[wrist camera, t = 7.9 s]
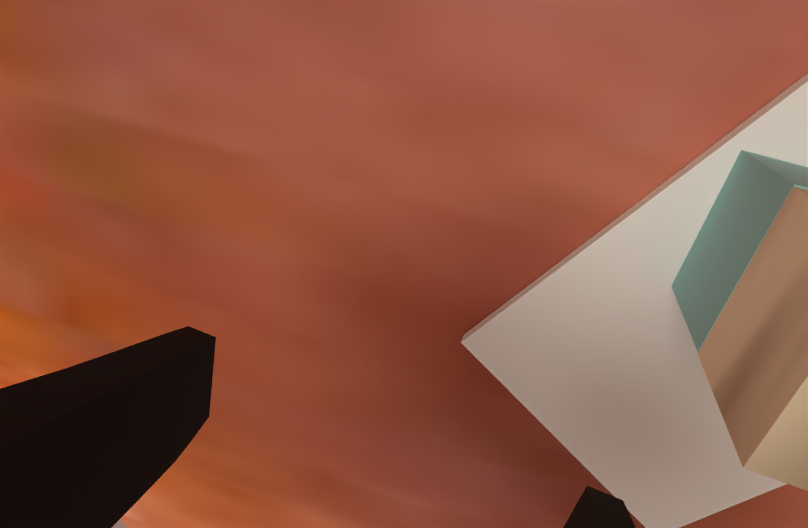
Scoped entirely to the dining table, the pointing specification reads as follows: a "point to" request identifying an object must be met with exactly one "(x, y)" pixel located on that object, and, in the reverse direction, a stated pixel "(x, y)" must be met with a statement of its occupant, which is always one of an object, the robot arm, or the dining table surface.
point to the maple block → (767, 352)
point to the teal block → (732, 237)
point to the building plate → (638, 342)
